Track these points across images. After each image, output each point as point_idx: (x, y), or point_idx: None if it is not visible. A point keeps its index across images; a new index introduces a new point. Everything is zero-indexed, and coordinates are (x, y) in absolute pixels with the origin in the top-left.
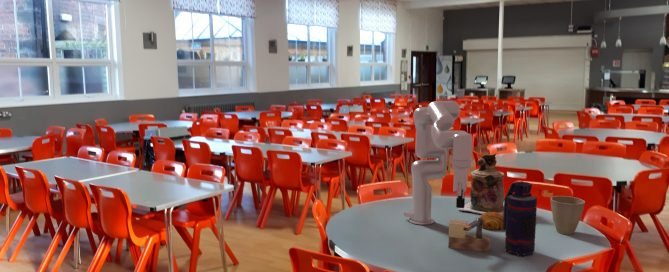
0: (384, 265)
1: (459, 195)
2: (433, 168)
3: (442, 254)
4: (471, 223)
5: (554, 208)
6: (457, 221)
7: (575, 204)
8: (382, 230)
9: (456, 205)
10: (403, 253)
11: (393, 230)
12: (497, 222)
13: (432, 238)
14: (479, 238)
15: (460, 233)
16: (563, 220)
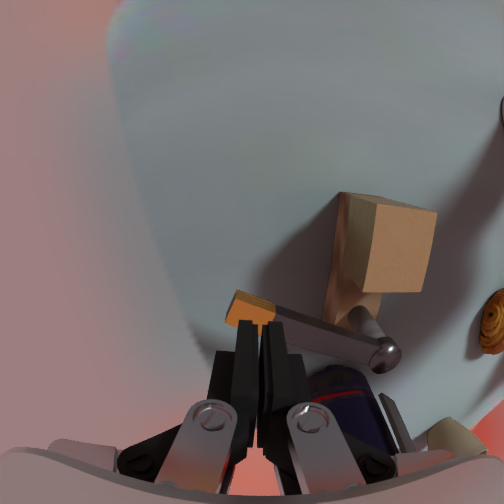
0: (111, 30)
1: (62, 452)
2: None
3: (256, 171)
4: (316, 335)
5: (458, 451)
6: (414, 248)
7: None
8: (425, 2)
9: (237, 331)
10: (227, 41)
11: (440, 29)
12: (491, 335)
13: (418, 136)
14: (348, 317)
15: (350, 252)
16: (436, 449)
